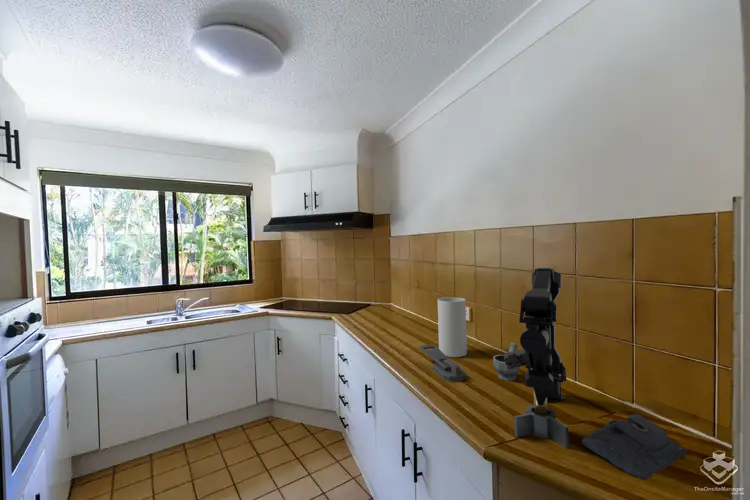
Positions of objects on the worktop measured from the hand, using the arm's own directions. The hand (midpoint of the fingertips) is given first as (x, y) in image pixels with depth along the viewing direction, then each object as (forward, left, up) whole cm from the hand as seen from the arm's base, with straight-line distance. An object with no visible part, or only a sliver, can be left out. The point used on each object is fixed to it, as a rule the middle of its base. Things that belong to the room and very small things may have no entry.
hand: (540, 402), depth 84 cm
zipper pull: (+4, -47, -8) cm, 48 cm away
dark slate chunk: (-14, +13, -8) cm, 20 cm away
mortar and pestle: (-16, -32, -8) cm, 36 cm away
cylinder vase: (-11, -63, -8) cm, 64 cm away
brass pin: (0, 0, -3) cm, 3 cm away
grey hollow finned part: (+2, +2, -7) cm, 8 cm away
